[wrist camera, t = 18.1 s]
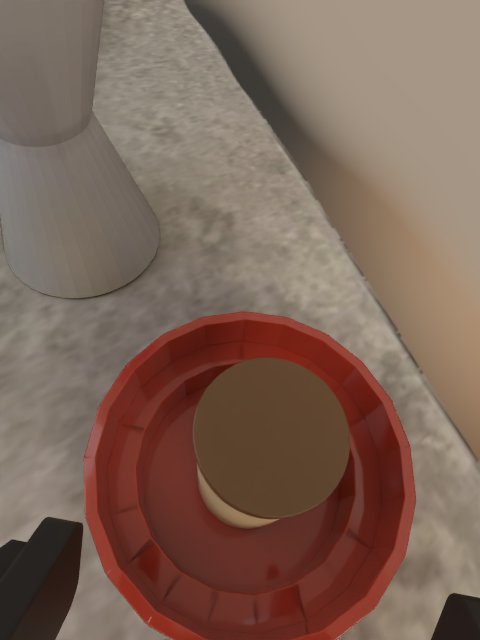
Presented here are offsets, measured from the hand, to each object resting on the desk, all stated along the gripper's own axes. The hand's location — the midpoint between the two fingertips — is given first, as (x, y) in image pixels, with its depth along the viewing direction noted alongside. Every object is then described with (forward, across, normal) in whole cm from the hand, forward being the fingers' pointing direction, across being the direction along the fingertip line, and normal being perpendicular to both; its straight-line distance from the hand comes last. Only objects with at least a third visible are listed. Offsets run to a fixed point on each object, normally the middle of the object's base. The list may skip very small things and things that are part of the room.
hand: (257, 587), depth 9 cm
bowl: (+12, 0, +6) cm, 14 cm away
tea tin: (+12, 0, +6) cm, 13 cm away
